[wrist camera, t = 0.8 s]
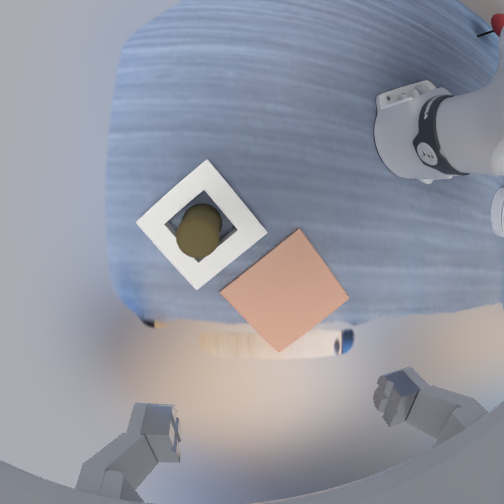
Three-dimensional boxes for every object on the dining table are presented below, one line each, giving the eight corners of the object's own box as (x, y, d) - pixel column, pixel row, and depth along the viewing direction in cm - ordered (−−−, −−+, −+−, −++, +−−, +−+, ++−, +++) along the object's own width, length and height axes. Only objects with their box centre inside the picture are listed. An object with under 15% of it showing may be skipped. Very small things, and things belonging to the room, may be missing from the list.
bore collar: (207, 160, 39) (207, 159, 36) (264, 228, 43) (267, 232, 40) (141, 219, 40) (135, 222, 37) (198, 282, 44) (196, 290, 41)
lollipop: (488, 52, 37) (525, 43, 23) (471, 40, 36) (510, 28, 22) (482, 32, 35) (517, 21, 21) (466, 19, 34) (501, 5, 20)
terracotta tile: (298, 227, 44) (299, 228, 43) (348, 296, 48) (349, 298, 47) (219, 291, 45) (219, 292, 44) (278, 350, 49) (278, 352, 49)
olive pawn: (174, 217, 41) (160, 231, 30) (208, 195, 41) (205, 202, 30) (195, 250, 43) (189, 274, 32) (229, 230, 42) (233, 248, 32)
